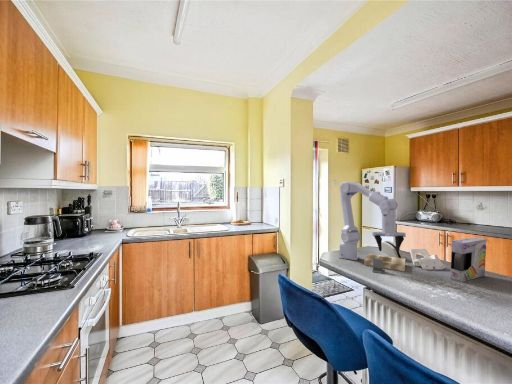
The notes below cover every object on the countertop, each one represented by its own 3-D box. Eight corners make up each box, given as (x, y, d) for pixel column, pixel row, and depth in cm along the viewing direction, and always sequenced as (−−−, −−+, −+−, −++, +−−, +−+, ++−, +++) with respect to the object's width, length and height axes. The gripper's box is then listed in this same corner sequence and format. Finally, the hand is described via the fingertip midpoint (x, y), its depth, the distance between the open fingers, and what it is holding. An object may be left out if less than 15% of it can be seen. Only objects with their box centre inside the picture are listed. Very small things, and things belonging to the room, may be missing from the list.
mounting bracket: (437, 270, 126) (431, 249, 130) (446, 269, 120) (439, 247, 124) (414, 270, 125) (409, 249, 130) (422, 269, 119) (416, 247, 124)
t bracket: (372, 272, 117) (372, 260, 117) (374, 268, 123) (374, 256, 123) (381, 273, 115) (381, 261, 115) (383, 269, 121) (383, 257, 121)
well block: (364, 264, 128) (364, 259, 128) (368, 258, 139) (368, 253, 138) (404, 271, 118) (404, 265, 118) (405, 264, 129) (405, 258, 129)
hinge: (406, 260, 135) (400, 243, 135) (398, 263, 136) (392, 246, 136) (390, 252, 152) (385, 237, 152) (383, 255, 152) (378, 240, 152)
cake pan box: (460, 283, 104) (461, 242, 103) (447, 278, 108) (448, 239, 108) (486, 277, 111) (487, 238, 111) (473, 273, 116) (474, 236, 115)
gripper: (374, 224, 117) (374, 252, 117) (408, 224, 114) (408, 253, 114) (371, 222, 124) (371, 249, 124) (402, 223, 120) (402, 250, 120)
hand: (388, 251), depth 119 cm, fingers open, 7 cm apart
